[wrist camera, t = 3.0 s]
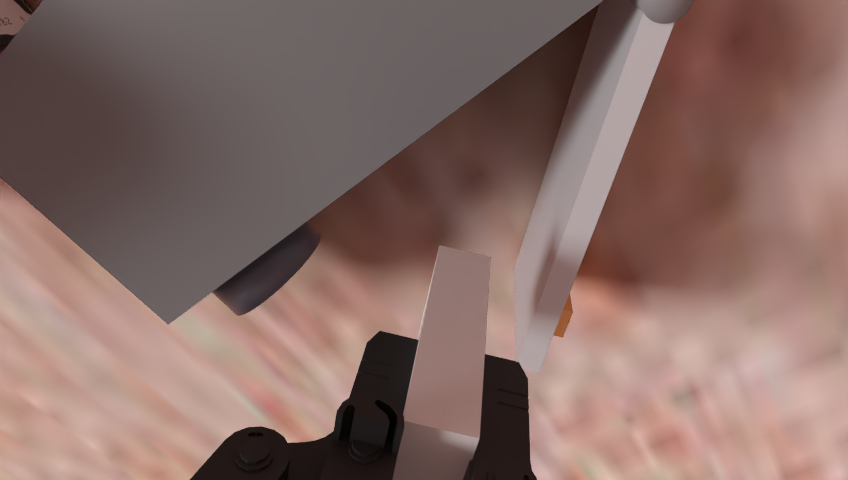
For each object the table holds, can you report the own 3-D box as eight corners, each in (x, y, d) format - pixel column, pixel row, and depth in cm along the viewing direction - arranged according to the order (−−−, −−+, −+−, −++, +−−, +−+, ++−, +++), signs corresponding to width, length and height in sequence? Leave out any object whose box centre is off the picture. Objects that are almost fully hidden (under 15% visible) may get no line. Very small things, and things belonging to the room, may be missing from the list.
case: (269, 255, 27) (191, 369, 21) (85, 71, 24) (-79, 135, 17) (618, -3, 20) (672, 42, 14) (426, -313, 17) (371, -455, 10)
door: (554, 277, 26) (567, 382, 20) (509, 266, 26) (510, 368, 20) (670, -40, 19) (736, -17, 14) (610, -53, 20) (652, -36, 14)
